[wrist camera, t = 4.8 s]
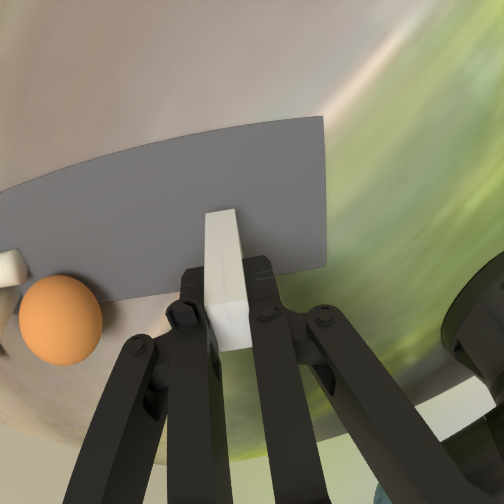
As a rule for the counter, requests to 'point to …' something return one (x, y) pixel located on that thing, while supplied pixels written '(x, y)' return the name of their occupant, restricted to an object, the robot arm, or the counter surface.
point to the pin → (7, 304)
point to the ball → (60, 320)
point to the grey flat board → (172, 208)
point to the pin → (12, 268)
